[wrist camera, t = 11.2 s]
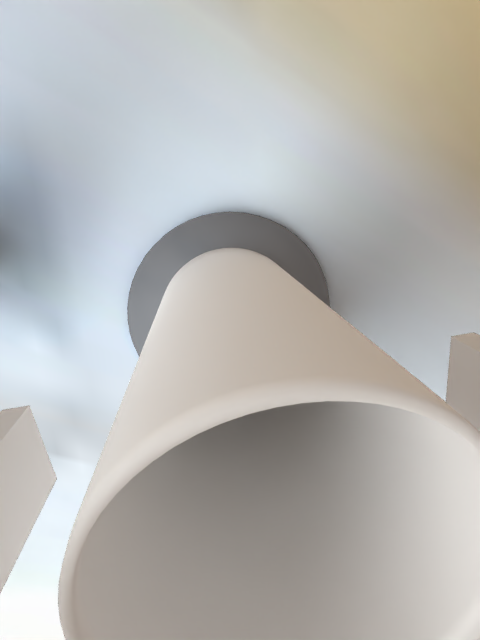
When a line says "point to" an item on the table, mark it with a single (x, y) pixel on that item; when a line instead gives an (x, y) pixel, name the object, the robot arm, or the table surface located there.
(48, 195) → the table surface
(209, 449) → the cup
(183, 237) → the coaster
